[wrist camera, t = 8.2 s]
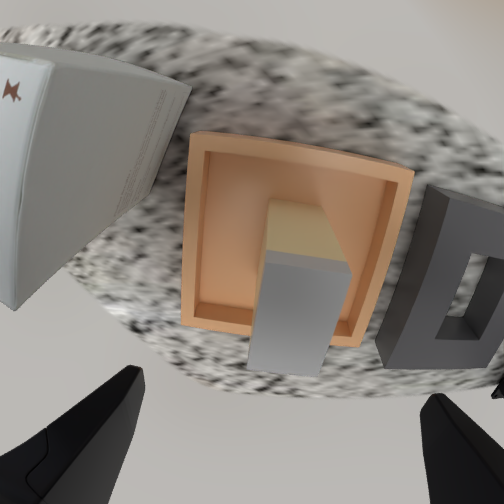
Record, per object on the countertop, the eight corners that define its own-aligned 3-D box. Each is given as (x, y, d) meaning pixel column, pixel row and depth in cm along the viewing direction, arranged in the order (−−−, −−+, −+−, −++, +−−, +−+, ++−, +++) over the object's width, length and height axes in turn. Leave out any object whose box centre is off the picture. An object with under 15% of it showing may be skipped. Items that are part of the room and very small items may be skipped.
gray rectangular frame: (527, 215, 17) (551, 230, 15) (472, 345, 22) (486, 367, 20) (427, 184, 17) (450, 198, 15) (374, 341, 23) (384, 368, 20)
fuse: (322, 206, 18) (352, 274, 11) (304, 283, 20) (317, 377, 13) (269, 197, 18) (265, 262, 11) (256, 276, 20) (246, 369, 13)
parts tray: (399, 163, 17) (414, 171, 15) (352, 326, 22) (358, 347, 20) (200, 130, 17) (190, 133, 15) (189, 304, 22) (181, 324, 20)
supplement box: (93, 51, 15) (-75, 34, 4) (196, 87, 16) (58, 59, 5) (57, 157, 18) (-96, 225, 7) (148, 200, 19) (16, 321, 8)
